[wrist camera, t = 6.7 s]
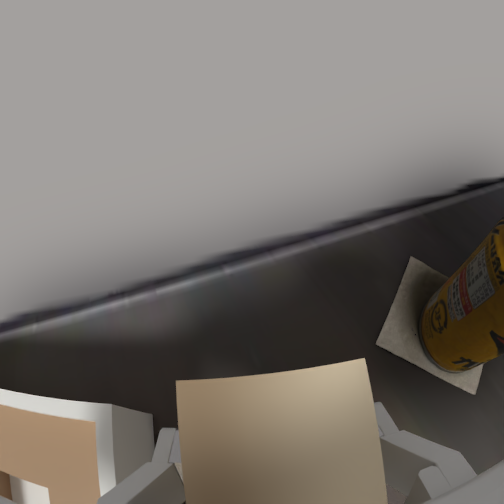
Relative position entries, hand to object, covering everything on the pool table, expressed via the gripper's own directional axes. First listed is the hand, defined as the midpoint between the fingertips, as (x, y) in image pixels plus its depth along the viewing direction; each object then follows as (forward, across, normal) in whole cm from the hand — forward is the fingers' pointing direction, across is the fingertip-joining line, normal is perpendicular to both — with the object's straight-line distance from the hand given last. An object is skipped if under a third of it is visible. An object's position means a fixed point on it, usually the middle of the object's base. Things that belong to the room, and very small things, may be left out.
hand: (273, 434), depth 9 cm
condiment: (+8, -13, +2) cm, 15 cm away
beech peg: (+4, 0, +5) cm, 6 cm away
